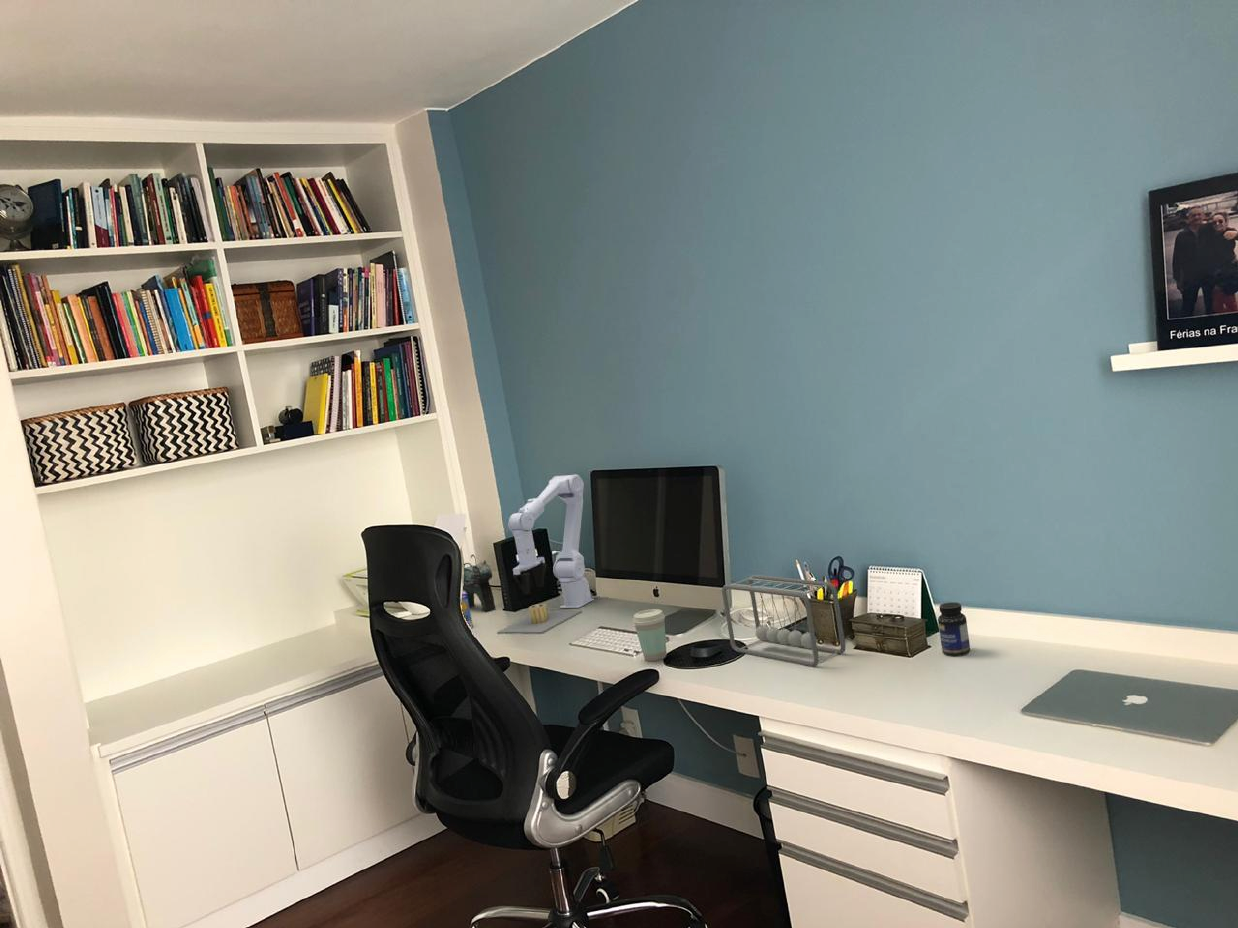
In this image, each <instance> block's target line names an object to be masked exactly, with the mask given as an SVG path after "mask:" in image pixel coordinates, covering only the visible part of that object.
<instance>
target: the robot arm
mask: <svg viewBox="0 0 1238 928" xmlns="http://www.w3.org/2000/svg"><path fill="white" fill-rule="evenodd" d="M584 486H585V482H584V481H583V479H582V477H581V476H580V475H579V474H576V473H575V474H570V475H569V474H568V475H555V476H553V477H552V479H549V480H548V485H547V486H546V487H545V489H543V490H542V492H541V493H540V494H539V496H538V497H536V498H529V499H527V501H526V503H525V505H523V506H522V507H521V508H519V510H518V512H517V513H515V512H514V513H513V514H511V515H510V517H509V519H508V523H507V526H508V529H509V530H510V531H511V533H512V536H513V537H514V542H515V547H516V552H517V557H518V562H519V564H518V565H517V566H516V567H514V568H512V572H513V574H512V577H513V579H515V581H516V582H517V584H518V585H519V587H520V589H521V591H522V593H523V594H524V595H529V594H531V586H530V576H531V573H530V572H526V571H528V570H531V572H532V575H533V577H534V580H535V584H536V587H537V588H543V587H545V575H546V571H547V567H548V564H547V563H546V561H545V557H544V556H538V557H537V553H536V548H535V547H536V546H535V542H534V537H533V531H532V529H533V528H534V525H535V524H534V523H535V521H536V520H537V519H538V518H539V517H540V516H541V515H542V514H543V513H544V512H545V506H546V505H547V504H548V503H549V502H551V501H552V500H553V499H554V498H555V497H556V496H557V497H558V498H559V499H561V500H562V501H563V502H564V503H565V504H566V507H565V508H566V511H565V518H564V519H565V520H564V529H563V530H564V531H563V539H562V548H561V550H560V551H559V552H558V554H557V555H556V557H555V562H554V564H553V566H552V568H553V570H552V571H553V574H554V575H553V576H554V577H555V578H557V579H558V582H560V587H561V592H562V597H563V602H564V604H563V605H561V606H559V608H560V609H579V608H581V607H583V606H585V605H587V604H589V603H591V602H593V601H594V598H592V596H591V589H590V584H589V581H588V579H587V578H586V577H585V576H584V575H585V572H586V565H585V557H584V556H583V554H581V553H580V552H579V549H580V539H581V538H580V537H581V529H582V528H581V526H582V516H583V507H584V506H583V505H584V497H583V495H584Z"/></svg>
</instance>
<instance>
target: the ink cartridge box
mask: <svg viewBox="0 0 1238 928" xmlns="http://www.w3.org/2000/svg"><path fill="white" fill-rule="evenodd" d="M461 605H462V612H463V615H464V618H465V619H466V621H467V623H468V624H469V626H470V627H471V629H474V624H473V620H472V614H471V610H470V609H471V607H470V608H469V602H468V596H467V593H466V591H463V592H462V602H461Z"/></svg>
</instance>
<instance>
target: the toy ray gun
mask: <svg viewBox="0 0 1238 928" xmlns="http://www.w3.org/2000/svg"><path fill="white" fill-rule="evenodd" d="M472 557H473V558H474V560H475V561H474V562H475V563H477V558H476V556H475V555H474V554H471V555H470V559H472ZM463 565H464V586H463V591H466V593H467V596H468V602H469V608H470V609H471V608H473V607H472V606H474V607H475V595H476V596H477V598H478V599H479V602H480V603H481V609H482V612H486V613H489V612H492V611H495V610H496V604H495V598H494V597H495V596H494V594H493V590H492V587H491V584H490V580H491V579H492V578H493V572H492V568H491V566H490V565H489V564H488V563H487V561H486V560H483V562H482V561H481V560H480V561H479V563H478V564H475V565H472V563H469V562H465V563H464V564H463ZM466 565H469V566H466ZM465 566H466V567H465Z"/></svg>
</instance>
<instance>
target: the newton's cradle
mask: <svg viewBox="0 0 1238 928" xmlns="http://www.w3.org/2000/svg"><path fill="white" fill-rule="evenodd" d="M746 581H748V585H745V584H741V583H743V582H746ZM754 581H757V582H754ZM760 582H761V585H760V586H754V584H757V583H760ZM763 582H766V584H763ZM773 583H778V584H777V585H773ZM769 584H771V586H772V587H764V586H766V585H769ZM784 584H785V585H786V584H787V585H788V586H786V587H785V586H784ZM780 585H782V588H775V587H776V586H780ZM796 585H797V586H801V587H799V588H796ZM792 586H793V588H794V589H793V590H788V589H786V588H789V587H792ZM803 587H805V591H798V590H799V589H801V588H803ZM807 587H813V589H811V590H808V591H807ZM823 588H829V589H830V590H831V593H832V594H831V595H832V599H833V606H834V612H835V618H836V624H837V633H838V637H839V643H840V648H838V649H837V648H832V647H827V646H820V645H817V637H816V634H815V633H816V632H815V627H814V620H813V615H812V609H811V603H810V602H811V601H810V599H809V597H808V594H810V593H813V592H815V591H817V590H820V589H823ZM721 589H722V590H721V594H722V601H723V606H724V612H725V618H726V619H725V620H726V623H727V624H726V625H727V629H728V635H729V636H728V637H729V641H730V646H731V648H732V649H733V650H734V651H735V652H737V653H741V654H747V655H750V656H751V655H752V656H756V657H757V656H758V657H762V658H766V659H770V660H771V659H772V660H776V661H777V660H778V661H782V662H786V663H791V664H792V663H793V664H796V665H803V666H807V667H815V666H817V665H818V664H819V662H822V661H824V660H825V659H828V658H830V657H833V656H835V655H842V654H844V653H845V651H846V640H845V634H844V629H843V628H844V627H843V622H842V615H841V609H840V602H839V596H838V595H839V594H838V591H837V588H836V586H835V585H834V584H833V583H831V582H829V581H822V580H820V581H819V580H811V579H810V580H809V579H802V578H791V577H790V578H789V577H780V576H773V575H772V576H771V575H770V576H769V575H761V574H751V575H750V576H749V577H748V578H745V579H742V580H740V581H736V582H734V583H731V584H725V585H723V587H722V588H721ZM727 590H735V591H743V592H749V595H750V599H751V605H752V611H753V613H752V614H753V617H754V618H753V619H754V625H755V636H756V638H757V639H758V640H757V641H755V642H752V643H750V644H747V645H745V646H742V647H738V646H737V645H736V641H735V635H734V634H735V633H734V629H733V624H732V617H731V611H730V606H729V599H728V594H727ZM755 593H759V595H760V597H761V614H762V615H761V616H762V617H761V620H762V621H761V622H762V623H761V622H760V618H759V610H758V606H757V599H756V594H755ZM762 594H767V595H770V596H771V599H772V601H771V602H772V604H773V607H774V609H775V612H776V615H777V618H778V621H779V624H780V627H781V629H779V628H778V627H775V624H774V623H775V621H774V618H775V617H774V616H772V625H771V621H770V619H769V615H768V611H767V609H766V606H765V603H764V599H763V595H762ZM774 595H776V596H781V597H782V601H783V605H784V608H785V610H786V613H787V616H788V619H789V622H790V626H791V628H792V631H790V630H789V629H787V628H785V626H786V625H785V620H786V619H783V626H782V623H781V620H780V617H779V614H778V610H777V607H776V605H775V602H774ZM785 597H792V598H793V599H794V604H795V607H796V608H797V611H798V614H799V616H800V617H799V618H800V620H801V623H802V626H803V630H804V631H805V633H802V632H801V631H799V630H797V627H796V626H797V623H796V622H797V621H796V619H797V616H796V613H797V612H796V610H794V627H793V624H792V621H791V620H792V619H791V618H790V614H789V612H788V608H787V605H786V602H785ZM796 598H801V599H802V600H803V602H804V606H805V611H806V619H807V620H806V622H807V623H806V624H807V626H808V631H806V628H805V627H806V626H805V625H804V623H803V622H804V621H803V618H802V616H801V613H800V611H799V607H798V604H797V601H796ZM763 607H764V608H763ZM763 609H764V610H763ZM764 611H765V613H766V616H767V619H768V622H769V626H770V627H768V626H766V625H764V616H763V615H764V613H763V612H764ZM762 641H764V642H768V643H773V644H777V645H778V644H780V645H784V646H790V647H797V648H801V649H806V650H812V655H813V661H811V660H805V659H802V658H801V659H800V658H795V657H789V656H785V655H778V654H773V653H769V652H763V651H758V650H752V649H747V648H749V647H751V646H753V645H756V644H759V643H761V642H762ZM819 652H824V653H830V654H829V655H826V656H824V657H822V658H819Z"/></svg>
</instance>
